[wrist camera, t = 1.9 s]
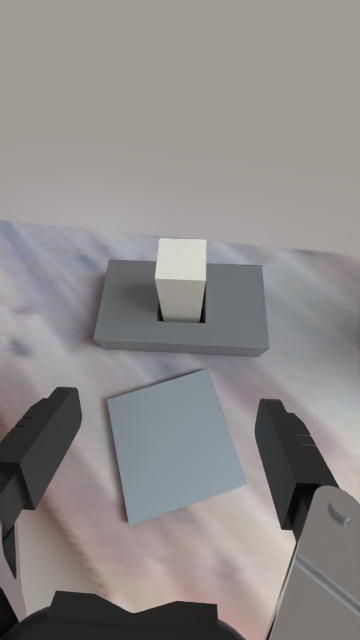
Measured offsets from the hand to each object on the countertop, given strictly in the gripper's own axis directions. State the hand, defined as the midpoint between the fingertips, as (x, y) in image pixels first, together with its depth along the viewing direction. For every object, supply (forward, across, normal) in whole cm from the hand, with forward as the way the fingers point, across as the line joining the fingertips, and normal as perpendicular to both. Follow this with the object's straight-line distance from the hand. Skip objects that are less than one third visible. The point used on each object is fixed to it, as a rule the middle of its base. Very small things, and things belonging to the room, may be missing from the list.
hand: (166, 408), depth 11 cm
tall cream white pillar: (+20, 0, +3) cm, 20 cm away
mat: (+10, 0, +13) cm, 16 cm away
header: (+20, 0, +3) cm, 20 cm away
